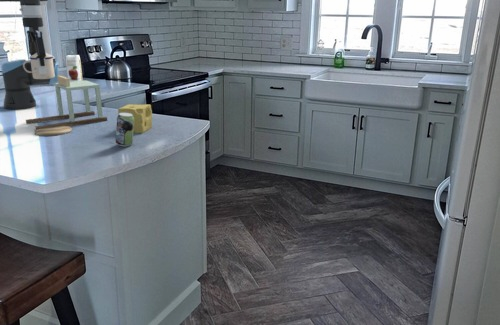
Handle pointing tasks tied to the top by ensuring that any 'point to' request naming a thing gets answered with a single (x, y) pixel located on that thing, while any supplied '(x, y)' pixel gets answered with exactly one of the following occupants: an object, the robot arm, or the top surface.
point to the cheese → (139, 116)
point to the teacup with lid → (35, 67)
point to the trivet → (53, 131)
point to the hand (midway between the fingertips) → (39, 72)
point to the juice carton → (74, 68)
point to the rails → (66, 122)
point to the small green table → (68, 86)
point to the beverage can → (124, 129)
